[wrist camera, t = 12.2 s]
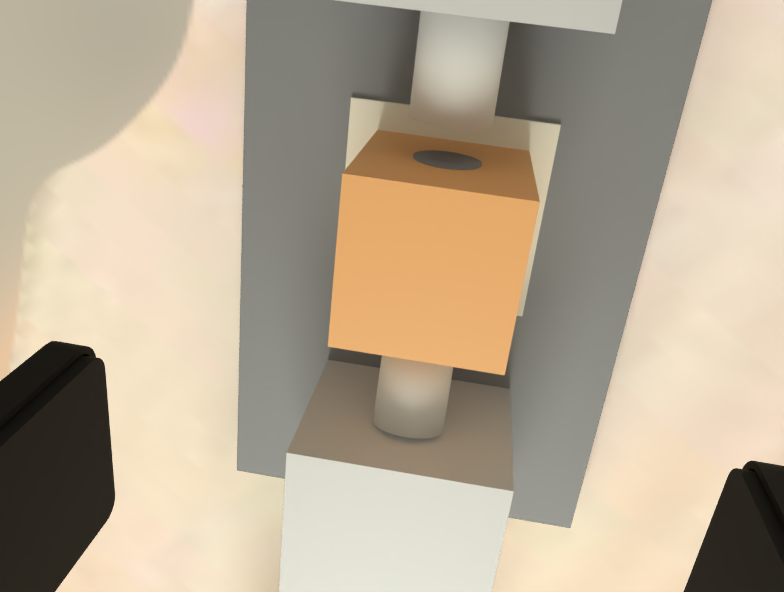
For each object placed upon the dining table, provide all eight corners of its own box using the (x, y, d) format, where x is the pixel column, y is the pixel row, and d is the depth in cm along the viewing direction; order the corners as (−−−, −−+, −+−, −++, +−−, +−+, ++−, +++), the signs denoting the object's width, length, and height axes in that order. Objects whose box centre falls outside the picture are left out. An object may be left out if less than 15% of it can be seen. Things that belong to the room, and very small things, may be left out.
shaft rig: (267, -238, 21) (160, -342, 14) (749, -192, 20) (878, -281, 13) (248, 449, 32) (179, 577, 25) (566, 503, 30) (587, 653, 24)
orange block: (377, 128, 24) (342, 171, 18) (529, 149, 23) (540, 199, 18) (362, 270, 26) (327, 348, 20) (502, 292, 25) (504, 376, 20)
